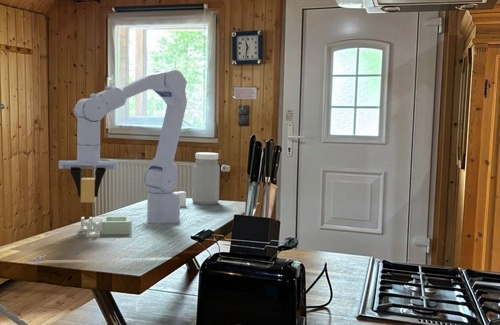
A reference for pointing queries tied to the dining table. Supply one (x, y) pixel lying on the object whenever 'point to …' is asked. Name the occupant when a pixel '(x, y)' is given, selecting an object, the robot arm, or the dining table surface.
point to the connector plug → (88, 190)
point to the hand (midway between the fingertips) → (88, 196)
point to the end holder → (115, 225)
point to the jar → (206, 179)
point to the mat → (83, 234)
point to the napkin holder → (182, 198)
